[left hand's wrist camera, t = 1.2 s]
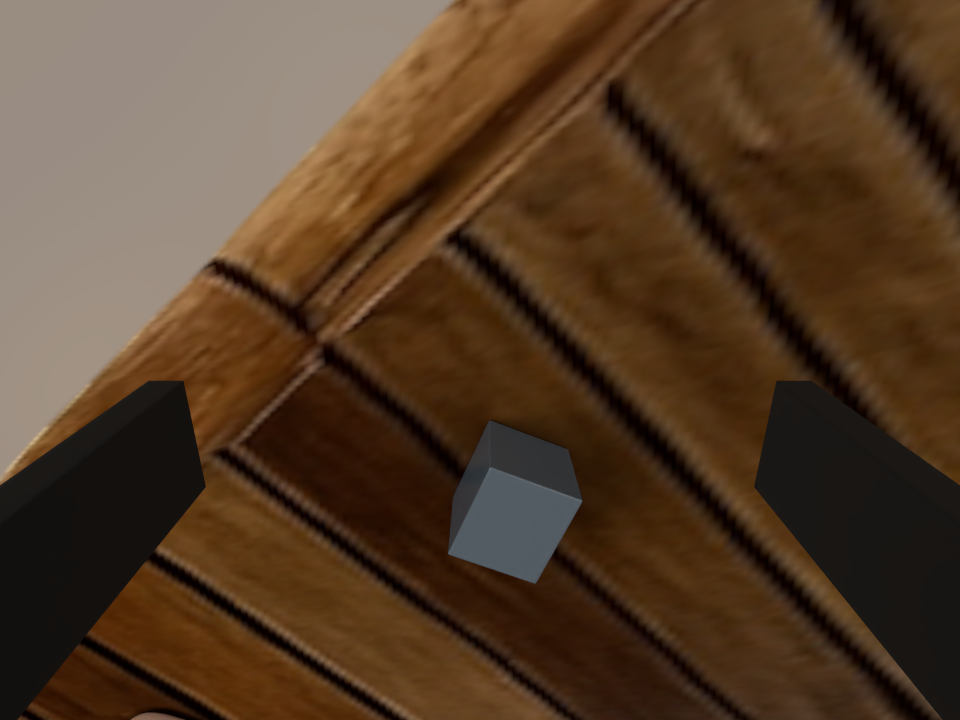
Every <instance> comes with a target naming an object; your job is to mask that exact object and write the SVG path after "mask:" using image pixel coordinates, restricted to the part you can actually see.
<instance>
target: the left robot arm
mask: <svg viewBox="0 0 960 720" xmlns="http://www.w3.org/2000/svg"><path fill="white" fill-rule="evenodd" d="M205 487H206V486H205V481H204V476H203V472H202V467H201V462H200V457H199V453H198V448H197V443H196V438H195V434H194V429H193V424H192V419H191V415H190V410H189V405H188V401H187V396H186V391H185V386H184V382H183V381H148V382H147V383H145V384H144V385H142V386H141V387H139V388H138V389H137V390H135V391H134V392H132V393H131V394H129V395H128V396H127V397H125V398H124V399H122V400H121V401H120V402H118V403H117V404H115V405H114V406H112V407H111V408H110V409H108V410H107V411H105V412H104V413H102V414H101V415H100V416H98V417H97V418H95V419H94V420H93V421H91V422H90V423H88V424H87V425H85V426H84V427H83V428H81V429H80V430H78V431H77V432H75V433H74V434H73V435H71V436H70V437H68V438H67V439H66V440H64V441H63V442H61V443H60V444H58V445H57V446H56V447H54V448H53V449H51V450H50V451H48V452H47V453H46V454H44V455H43V456H41V457H40V458H38V459H37V460H36V461H34V462H33V463H31V464H30V465H29V466H27V467H26V468H24V469H23V470H21V471H20V472H19V473H17V474H16V475H14V476H13V477H11V478H10V479H9V480H7V481H6V482H4V483H3V484H2V485H0V720H17V719H18V718H19V717H20V716H21V715H22V713H23V712H24V711H25V710H26V708H27V707H28V706H29V705H30V703H31V702H32V701H33V700H34V698H35V697H36V696H37V695H38V694H39V692H40V691H41V690H42V689H43V687H44V686H45V685H46V684H47V682H48V681H49V680H50V679H51V677H52V676H53V675H54V674H55V673H56V671H57V670H58V669H59V668H60V666H61V665H62V664H63V663H64V661H65V660H66V659H67V658H68V656H69V655H70V654H71V653H72V652H73V650H74V649H75V648H76V647H77V645H78V644H79V643H80V642H81V640H82V639H83V638H84V637H85V635H86V634H87V633H88V632H89V631H90V629H91V628H92V627H93V626H94V624H95V623H96V622H97V621H98V619H99V618H100V617H101V616H102V614H103V613H104V612H105V611H106V609H107V608H108V607H109V606H110V605H111V603H112V602H113V601H114V600H115V598H116V597H117V596H118V595H119V593H120V592H121V591H122V590H123V588H124V587H125V586H126V585H127V584H128V582H129V581H130V580H131V579H132V577H133V576H134V575H135V574H136V572H137V571H138V570H139V569H140V567H141V566H142V565H143V564H144V563H145V561H146V560H147V559H148V558H149V556H150V555H151V554H152V553H153V551H154V550H155V549H156V548H157V546H158V545H159V544H160V543H161V542H162V540H163V539H164V538H165V537H166V535H167V534H168V533H169V532H170V530H171V529H172V528H173V527H174V525H175V524H176V523H177V522H178V521H179V519H180V518H181V517H182V516H183V514H184V513H185V512H186V511H187V509H188V508H189V507H190V506H191V504H192V503H193V502H194V501H195V500H196V498H197V497H198V496H199V495H200V493H201V492H202V491H203V490H204V488H205ZM754 487H755V488H756V490H757V491H758V492H759V493H760V495H761V496H762V497H763V498H764V500H765V501H766V502H767V503H768V504H769V506H770V507H771V508H772V509H773V511H774V512H775V513H776V514H777V516H778V517H779V518H780V519H781V521H782V522H783V523H784V524H785V525H786V527H787V528H788V529H789V530H790V532H791V533H792V534H793V535H794V537H795V538H796V539H797V540H798V542H799V543H800V544H801V545H802V546H803V548H804V549H805V550H806V551H807V553H808V554H809V555H810V556H811V558H812V559H813V560H814V561H815V563H816V564H817V565H818V566H819V567H820V569H821V570H822V571H823V572H824V574H825V575H826V576H827V577H828V579H829V580H830V581H831V582H832V584H833V585H834V586H835V587H836V588H837V590H838V591H839V592H840V593H841V595H842V596H843V597H844V598H845V600H846V601H847V602H848V603H849V605H850V606H851V607H852V608H853V609H854V611H855V612H856V613H857V614H858V616H859V617H860V618H861V619H862V621H863V622H864V623H865V624H866V626H867V627H868V628H869V629H870V631H871V632H872V633H873V634H874V635H875V637H876V638H877V639H878V640H879V642H880V643H881V644H882V645H883V647H884V648H885V649H886V650H887V652H888V653H889V654H890V655H891V656H892V658H893V659H894V660H895V661H896V663H897V664H898V665H899V666H900V668H901V669H902V670H903V671H904V673H905V674H906V675H907V676H908V677H909V679H910V680H911V681H912V682H913V684H914V685H915V686H916V687H917V689H918V690H919V691H920V692H921V694H922V695H923V696H924V697H925V698H926V700H927V701H928V702H929V703H930V705H931V706H932V707H933V708H934V710H935V711H936V712H937V713H938V715H939V716H940V717H941V718H942V719H943V720H960V485H958V484H957V483H956V482H954V481H953V480H951V479H950V478H949V477H947V476H946V475H944V474H943V473H941V472H940V471H939V470H937V469H936V468H934V467H933V466H931V465H930V464H929V463H927V462H926V461H924V460H923V459H922V458H920V457H919V456H917V455H916V454H914V453H913V452H912V451H910V450H909V449H907V448H906V447H904V446H903V445H902V444H900V443H899V442H897V441H896V440H894V439H893V438H892V437H890V436H889V435H887V434H886V433H885V432H883V431H882V430H880V429H879V428H877V427H876V426H875V425H873V424H872V423H870V422H869V421H867V420H866V419H865V418H863V417H862V416H860V415H859V414H858V413H856V412H855V411H853V410H852V409H850V408H849V407H848V406H846V405H845V404H843V403H842V402H840V401H839V400H838V399H836V398H835V397H833V396H832V395H831V394H829V393H828V392H826V391H825V390H823V389H822V388H821V387H819V386H818V385H816V384H815V383H813V382H812V381H777V382H776V386H775V391H774V396H773V401H772V405H771V410H770V415H769V419H768V424H767V429H766V434H765V438H764V443H763V448H762V453H761V457H760V462H759V467H758V472H757V476H756V481H755V486H754Z"/></svg>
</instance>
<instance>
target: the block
mask: <svg viewBox="0 0 960 720" xmlns="http://www.w3.org/2000/svg"><path fill="white" fill-rule="evenodd" d="M581 503H582V497H581V493H580V490H579V486H578V482H577V479H576V475H575V472H574V468H573V465H572V461H571V458H570V454H569V450H568V449H565V448H563V447H560V446H557V445H555V444H552V443H549V442H547V441H544V440H541V439H539V438H536V437H533V436H531V435H528V434H525V433H523V432H520V431H517V430H515V429H512V428H509V427H507V426H504V425H501V424H499V423H496V422H493V421H491V420H490V421H489V422H488V424H487V426H486V428H485V430H484V432H483V435H482V437H481V439H480V441H479V443H478V445H477V447H476V449H475V452H474V454H473V456H472V458H471V460H470V462H469V464H468V466H467V469H466V471H465V473H464V475H463V477H462V479H461V481H460V484H459V486H458V488H457V490H456V492H455V494H454V496H453V505H452V516H451V527H450V538H449V550H448V554H449V555H452V556H455V557H458V558H461V559H464V560H466V561H469V562H472V563H475V564H478V565H481V566H484V567H487V568H490V569H493V570H496V571H499V572H502V573H505V574H508V575H511V576H514V577H517V578H520V579H523V580H526V581H529V582H532V583H536V582H537V580H538V579H539V577H540V575H541V573H542V572H543V570H544V568H545V566H546V565H547V563H548V561H549V559H550V558H551V556H552V554H553V552H554V551H555V549H556V547H557V545H558V544H559V542H560V540H561V538H562V537H563V535H564V533H565V531H566V530H567V528H568V526H569V524H570V523H571V521H572V519H573V517H574V516H575V514H576V512H577V510H578V509H579V507H580V505H581Z"/></svg>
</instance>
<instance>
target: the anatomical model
mask: <svg viewBox="0 0 960 720" xmlns="http://www.w3.org/2000/svg"><path fill="white" fill-rule="evenodd" d="M131 720H184V719H181V718H178V717H174V716H171V715H168V714H162V713H156V712H148V713H143V714H140V715H138V716H136V717H134V718H132V719H131Z"/></svg>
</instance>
